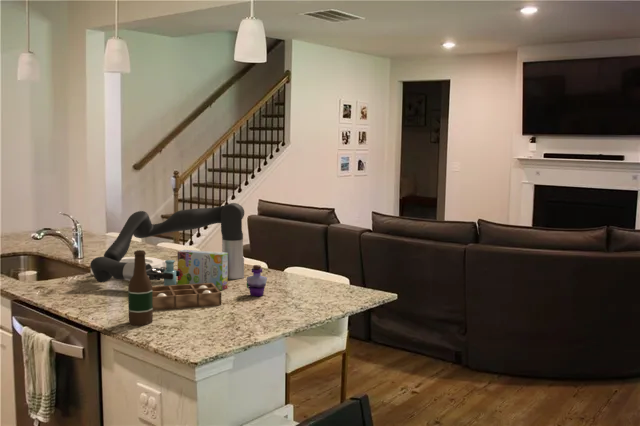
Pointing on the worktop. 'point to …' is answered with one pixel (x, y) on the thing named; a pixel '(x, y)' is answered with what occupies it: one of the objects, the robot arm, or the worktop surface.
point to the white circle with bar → (152, 261)
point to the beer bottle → (140, 293)
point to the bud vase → (170, 270)
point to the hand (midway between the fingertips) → (176, 275)
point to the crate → (185, 296)
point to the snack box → (203, 268)
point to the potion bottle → (256, 282)
